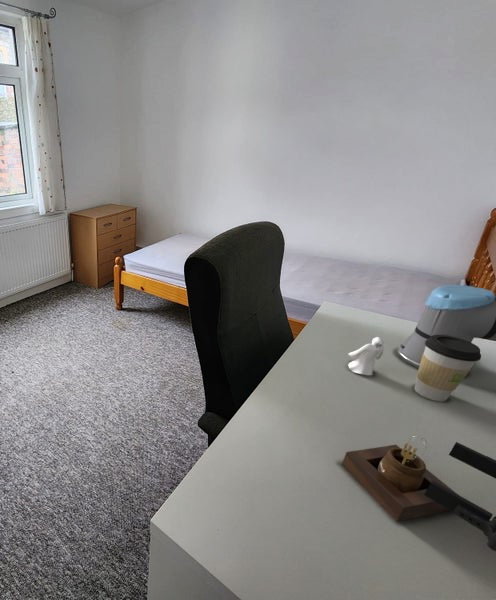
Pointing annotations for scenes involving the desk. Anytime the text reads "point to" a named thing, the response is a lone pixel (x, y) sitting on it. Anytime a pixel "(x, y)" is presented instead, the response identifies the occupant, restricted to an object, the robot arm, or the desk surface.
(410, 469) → the utensil holder
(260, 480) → the desk surface
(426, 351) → the coffee cup
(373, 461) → the wooden frame
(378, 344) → the figurine
